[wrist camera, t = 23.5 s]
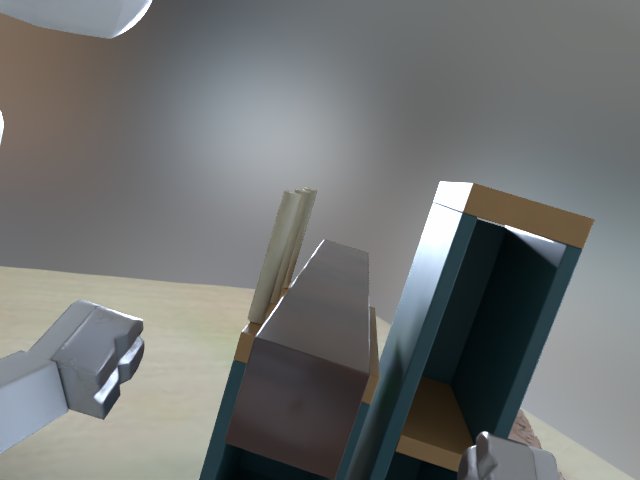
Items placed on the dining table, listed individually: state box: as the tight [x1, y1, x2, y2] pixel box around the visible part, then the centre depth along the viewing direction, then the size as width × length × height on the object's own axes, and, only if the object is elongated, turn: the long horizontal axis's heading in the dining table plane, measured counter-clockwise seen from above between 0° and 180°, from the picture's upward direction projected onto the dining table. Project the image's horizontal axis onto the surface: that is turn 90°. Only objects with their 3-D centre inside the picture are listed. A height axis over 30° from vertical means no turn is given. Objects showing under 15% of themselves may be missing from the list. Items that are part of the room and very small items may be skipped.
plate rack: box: [199, 181, 594, 480], centre depth 29 cm, size 12×15×26 cm
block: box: [225, 239, 370, 480], centre depth 25 cm, size 22×4×4 cm, turn 175°
